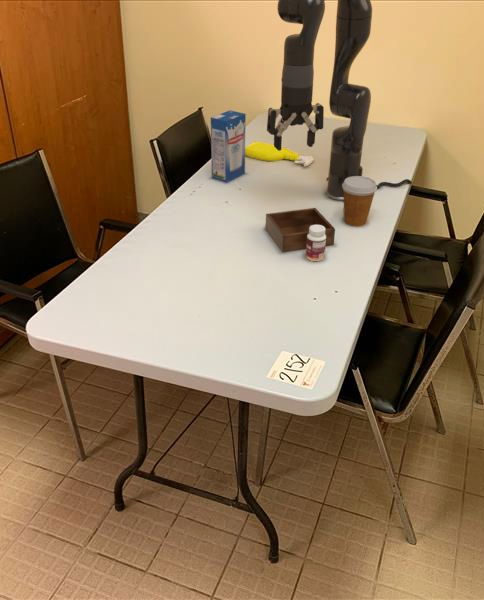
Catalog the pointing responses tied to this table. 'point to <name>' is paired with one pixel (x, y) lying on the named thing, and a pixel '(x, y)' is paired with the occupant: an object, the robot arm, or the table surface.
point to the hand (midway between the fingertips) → (294, 147)
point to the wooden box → (296, 228)
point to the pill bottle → (316, 243)
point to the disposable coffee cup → (358, 199)
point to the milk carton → (228, 145)
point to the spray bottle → (274, 153)
